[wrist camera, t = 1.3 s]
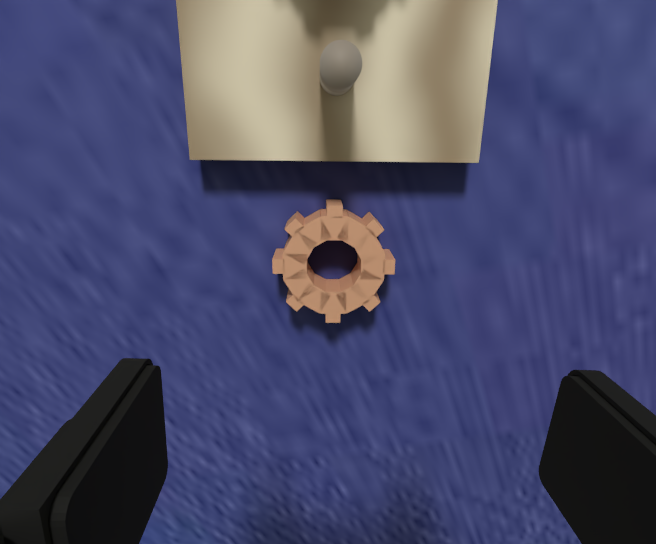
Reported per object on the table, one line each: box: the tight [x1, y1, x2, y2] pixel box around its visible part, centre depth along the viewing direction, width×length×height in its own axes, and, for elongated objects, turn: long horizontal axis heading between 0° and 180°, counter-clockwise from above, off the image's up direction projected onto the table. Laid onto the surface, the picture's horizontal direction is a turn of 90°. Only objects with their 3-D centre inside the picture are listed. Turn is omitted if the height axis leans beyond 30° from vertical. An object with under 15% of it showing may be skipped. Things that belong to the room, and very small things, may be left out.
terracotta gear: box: [272, 199, 395, 323], centre depth 26 cm, size 7×7×2 cm
